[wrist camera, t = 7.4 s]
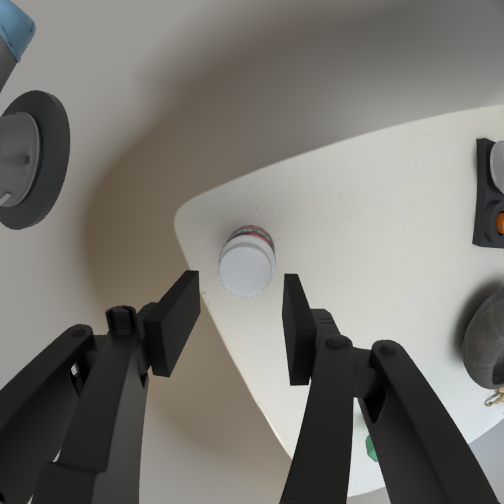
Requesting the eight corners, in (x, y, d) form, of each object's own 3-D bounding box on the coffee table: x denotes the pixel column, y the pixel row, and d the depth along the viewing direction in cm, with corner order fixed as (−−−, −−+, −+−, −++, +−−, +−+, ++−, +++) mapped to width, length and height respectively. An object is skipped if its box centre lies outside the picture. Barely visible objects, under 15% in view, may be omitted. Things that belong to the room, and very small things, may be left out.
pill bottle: (273, 224, 28) (277, 240, 20) (273, 269, 29) (277, 301, 21) (226, 225, 28) (212, 241, 20) (228, 269, 29) (215, 301, 21)
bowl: (439, 373, 32) (469, 411, 22) (458, 285, 28) (504, 314, 19) (497, 349, 31) (527, 376, 21) (515, 270, 27) (556, 290, 18)
